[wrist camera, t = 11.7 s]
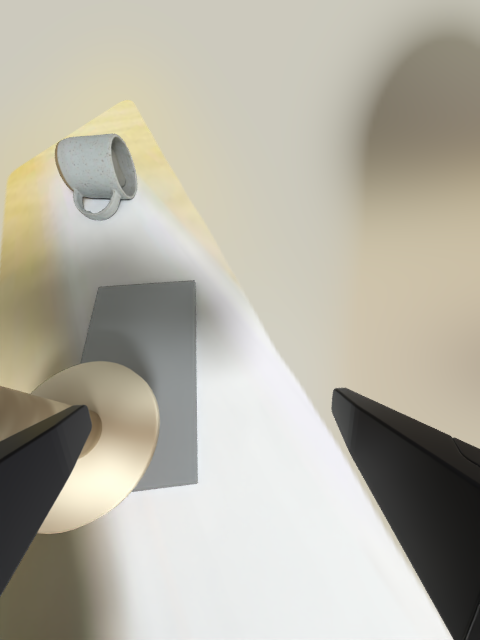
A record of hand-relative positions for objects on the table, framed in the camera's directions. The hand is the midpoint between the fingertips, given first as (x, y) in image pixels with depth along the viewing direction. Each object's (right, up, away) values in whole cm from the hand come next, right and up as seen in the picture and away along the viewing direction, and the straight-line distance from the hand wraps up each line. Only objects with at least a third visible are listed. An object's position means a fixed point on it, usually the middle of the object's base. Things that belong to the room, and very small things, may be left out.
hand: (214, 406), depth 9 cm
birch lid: (-10, -5, +8) cm, 13 cm away
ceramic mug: (-19, +22, +28) cm, 40 cm away
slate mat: (-9, -2, +14) cm, 17 cm away
